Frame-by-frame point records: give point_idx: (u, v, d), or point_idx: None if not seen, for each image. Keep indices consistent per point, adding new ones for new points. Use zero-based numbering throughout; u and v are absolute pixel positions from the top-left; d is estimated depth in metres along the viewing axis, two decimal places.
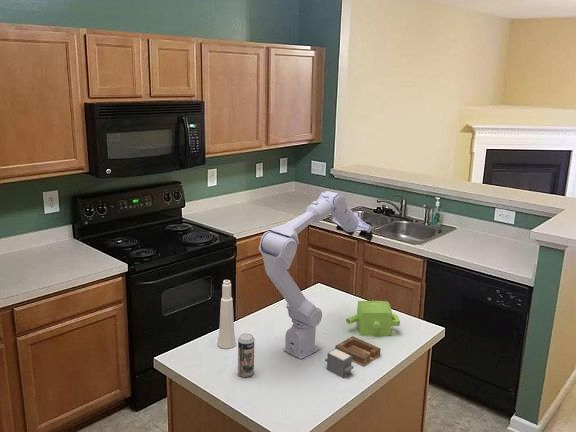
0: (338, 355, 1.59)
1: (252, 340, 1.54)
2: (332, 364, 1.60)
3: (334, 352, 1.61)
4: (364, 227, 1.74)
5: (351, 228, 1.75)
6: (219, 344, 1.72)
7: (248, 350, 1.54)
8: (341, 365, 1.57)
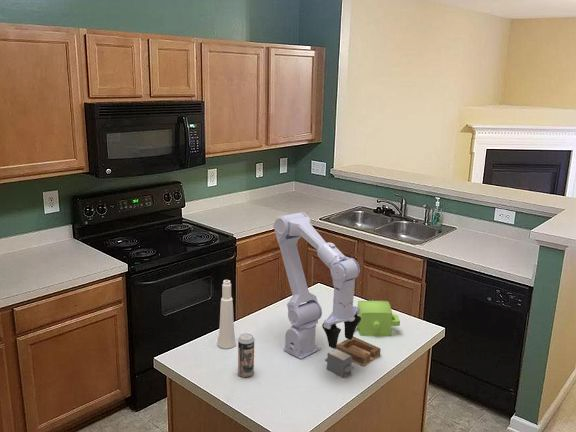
0: (338, 355, 1.59)
1: (252, 340, 1.54)
2: (332, 364, 1.60)
3: (334, 352, 1.61)
4: (329, 320, 1.52)
5: None
6: (219, 344, 1.72)
7: (248, 350, 1.54)
8: (341, 365, 1.57)
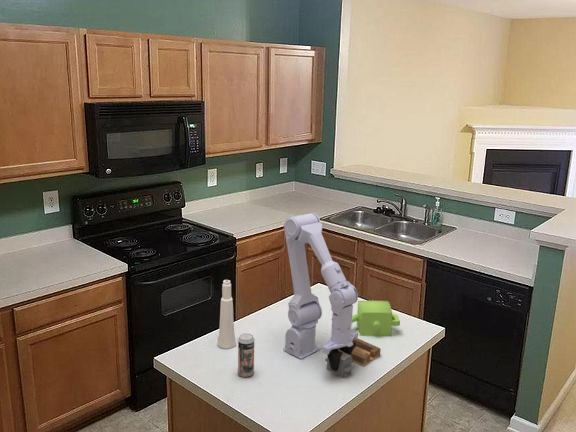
0: None
1: (252, 340, 1.54)
2: None
3: None
4: (327, 346, 1.55)
5: (331, 336, 1.58)
6: (219, 344, 1.72)
7: (248, 350, 1.54)
8: (341, 365, 1.57)
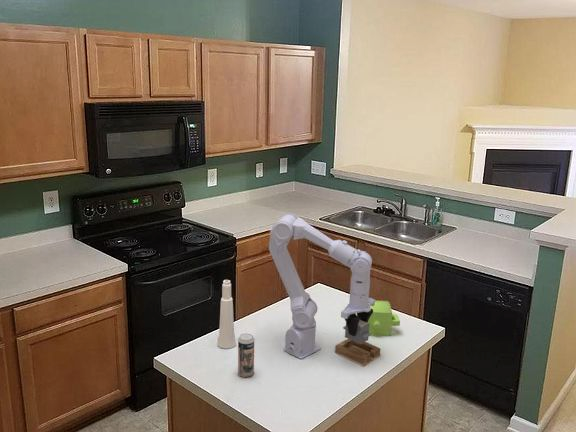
0: None
1: (252, 340, 1.54)
2: None
3: None
4: (346, 311, 1.61)
5: (349, 303, 1.65)
6: (219, 344, 1.72)
7: (248, 350, 1.54)
8: (359, 332, 1.64)
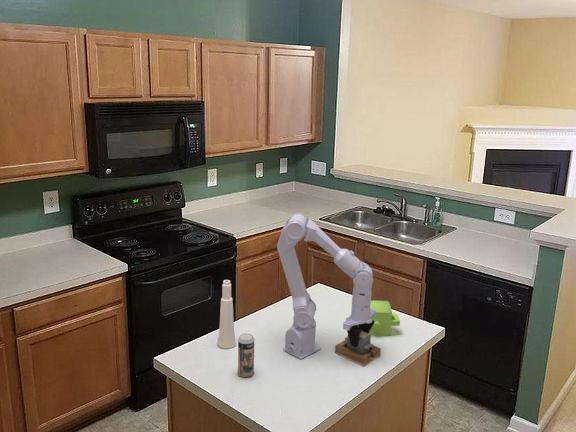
0: None
1: (252, 340, 1.54)
2: None
3: None
4: (348, 322, 1.64)
5: (351, 314, 1.67)
6: (219, 344, 1.72)
7: (248, 350, 1.54)
8: (361, 343, 1.66)
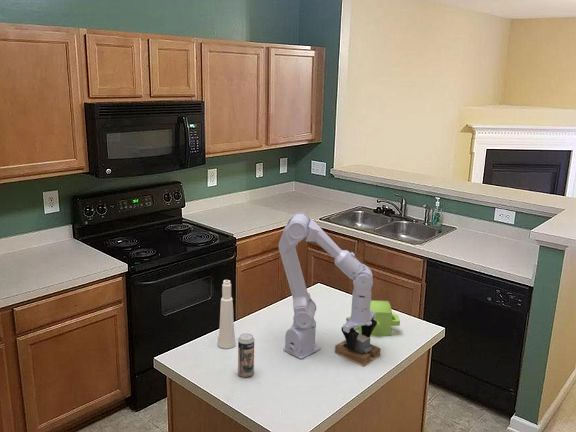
0: (357, 337, 1.69)
1: (252, 340, 1.54)
2: None
3: None
4: (348, 324, 1.64)
5: (351, 316, 1.67)
6: (219, 344, 1.72)
7: (248, 350, 1.54)
8: (360, 347, 1.67)
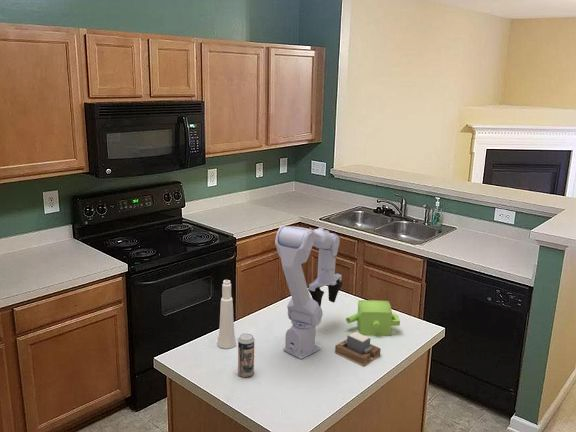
0: (357, 337, 1.69)
1: (252, 340, 1.54)
2: (352, 346, 1.69)
3: (353, 334, 1.70)
4: (314, 284, 1.77)
5: (317, 277, 1.81)
6: (219, 344, 1.72)
7: (248, 350, 1.54)
8: (360, 347, 1.67)
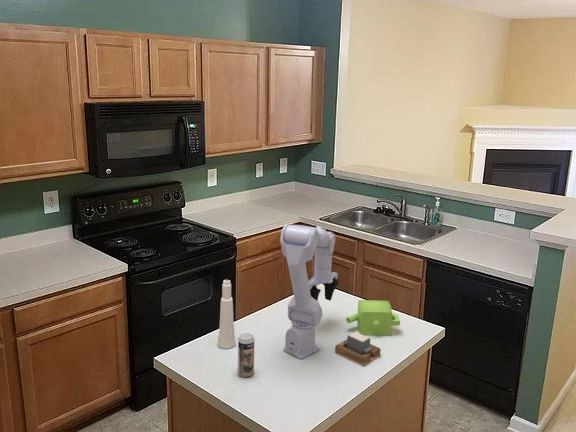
0: (357, 337, 1.69)
1: (252, 340, 1.54)
2: (352, 346, 1.69)
3: (353, 334, 1.70)
4: (310, 282, 1.79)
5: None
6: (219, 344, 1.72)
7: (248, 350, 1.54)
8: (360, 347, 1.67)
